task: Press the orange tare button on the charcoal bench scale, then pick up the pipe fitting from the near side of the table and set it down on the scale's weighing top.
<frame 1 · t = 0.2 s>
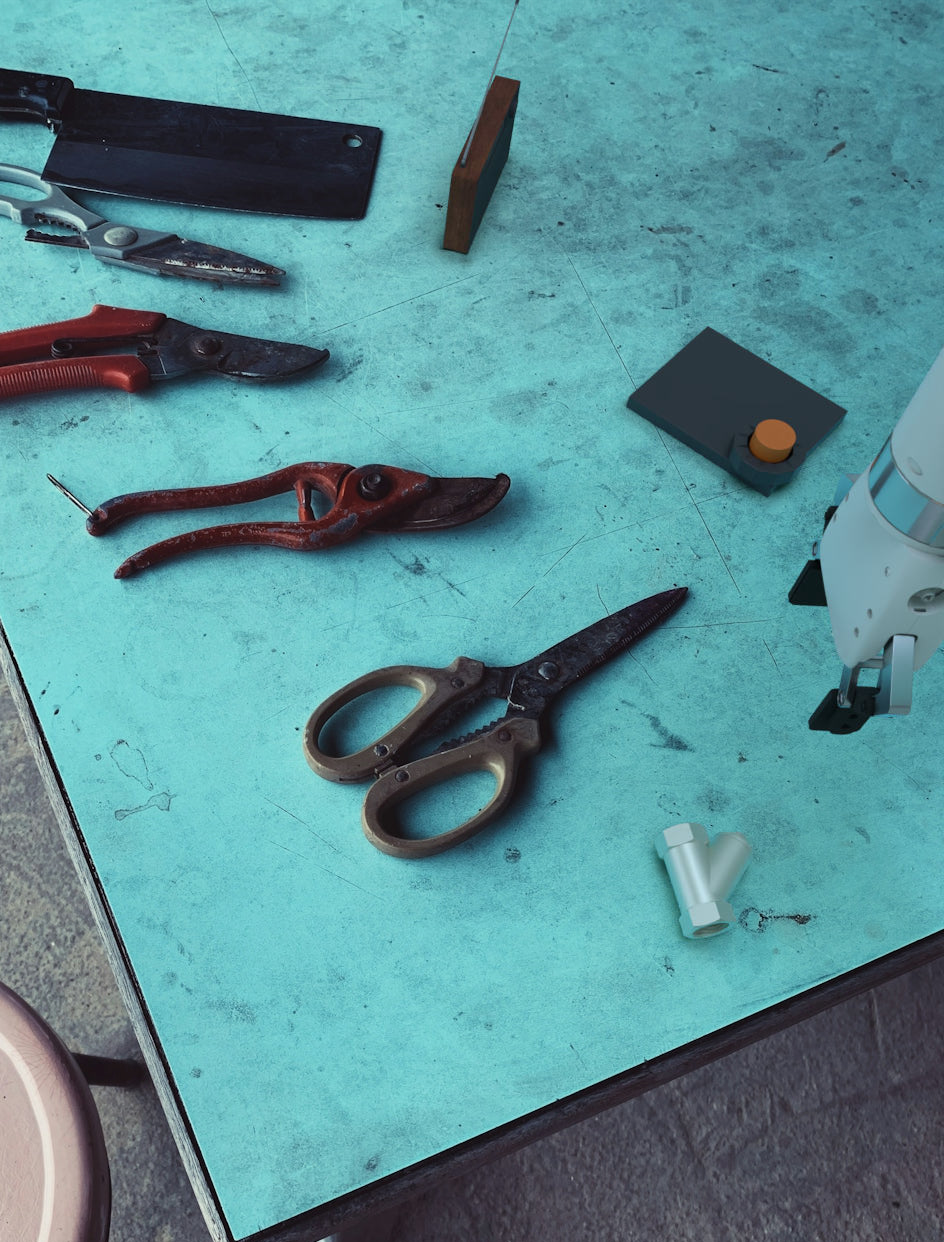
hand: (820, 662, 78), 19 cm above the table, tool pointing down, fingers open, 9 cm apart
pipe fitting: (706, 888, 91), on the table
tare button: (772, 441, 107), point 4 cm above the table, slide at 0.2 cm
scale: (733, 414, 113), on the table
radio: (480, 198, 126), on the table
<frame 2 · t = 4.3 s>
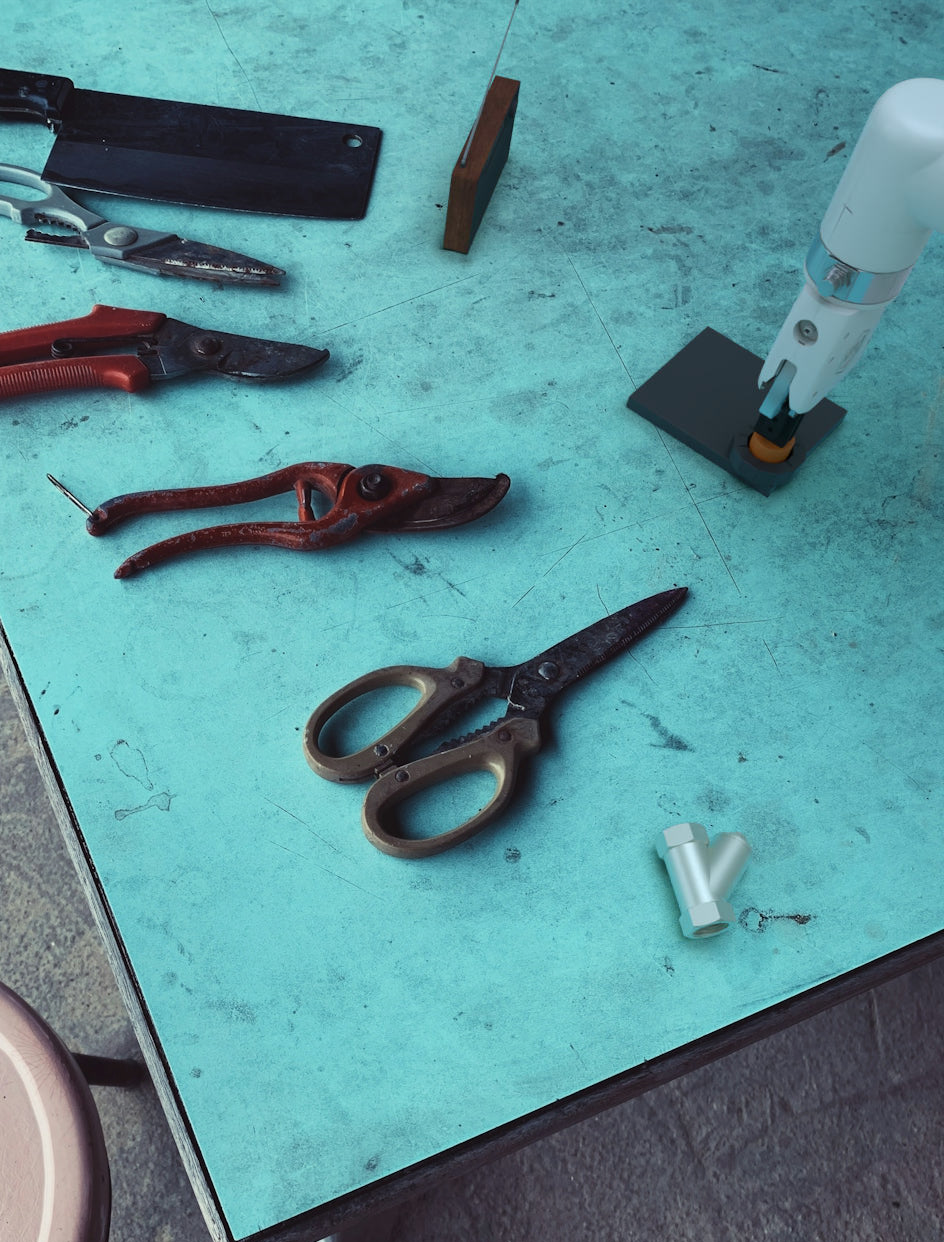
hand: (772, 434, 106), 4 cm above the table, tool pointing down, fingers closed
tare button: (771, 442, 107), point 3 cm above the table, slide at 0.0 cm, touching gripper
everything else where it was.
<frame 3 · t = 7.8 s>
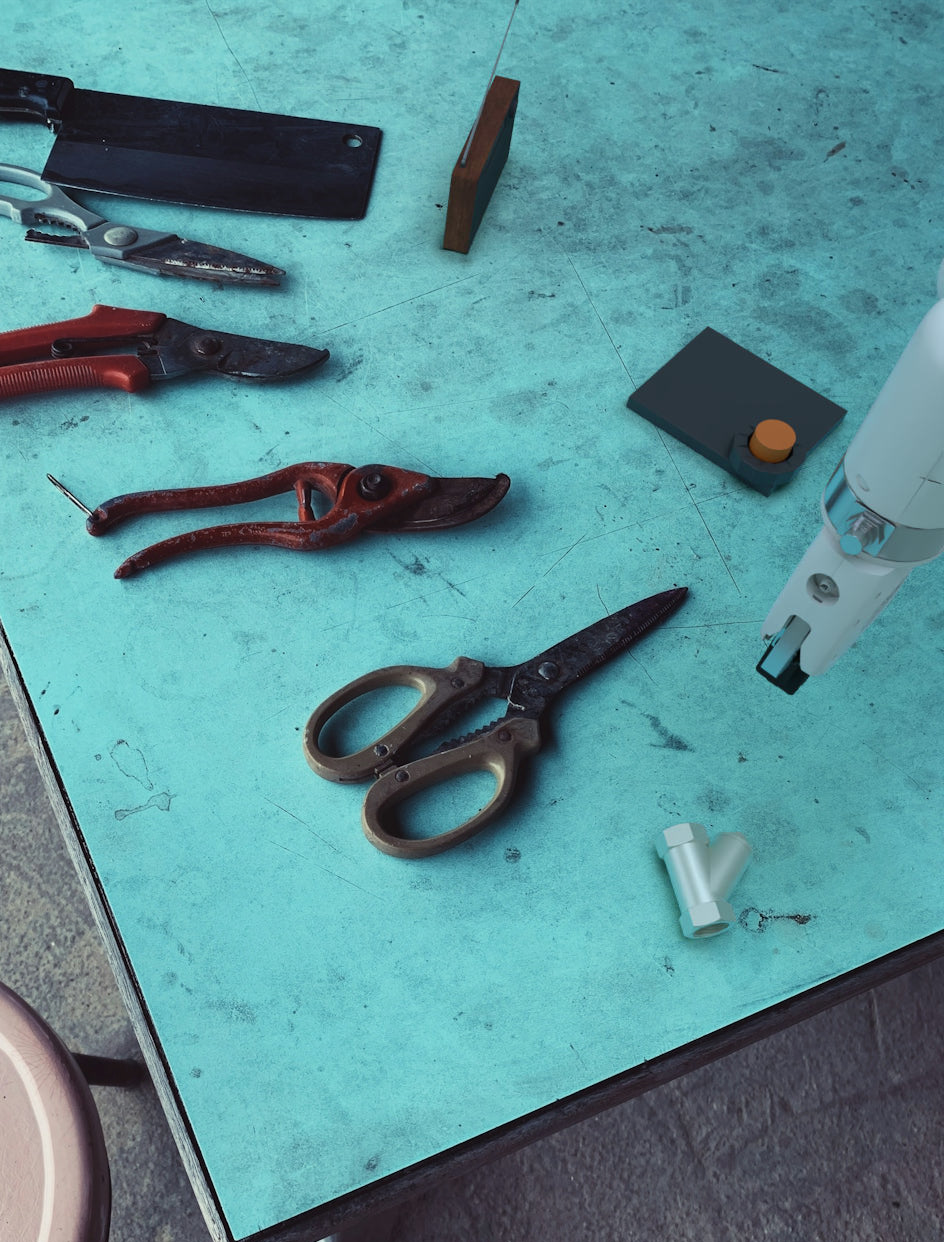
hand: (779, 676, 84), 14 cm above the table, tool pointing down, fingers closed
tare button: (772, 441, 107), point 4 cm above the table, slide at 0.1 cm
everything else where it was.
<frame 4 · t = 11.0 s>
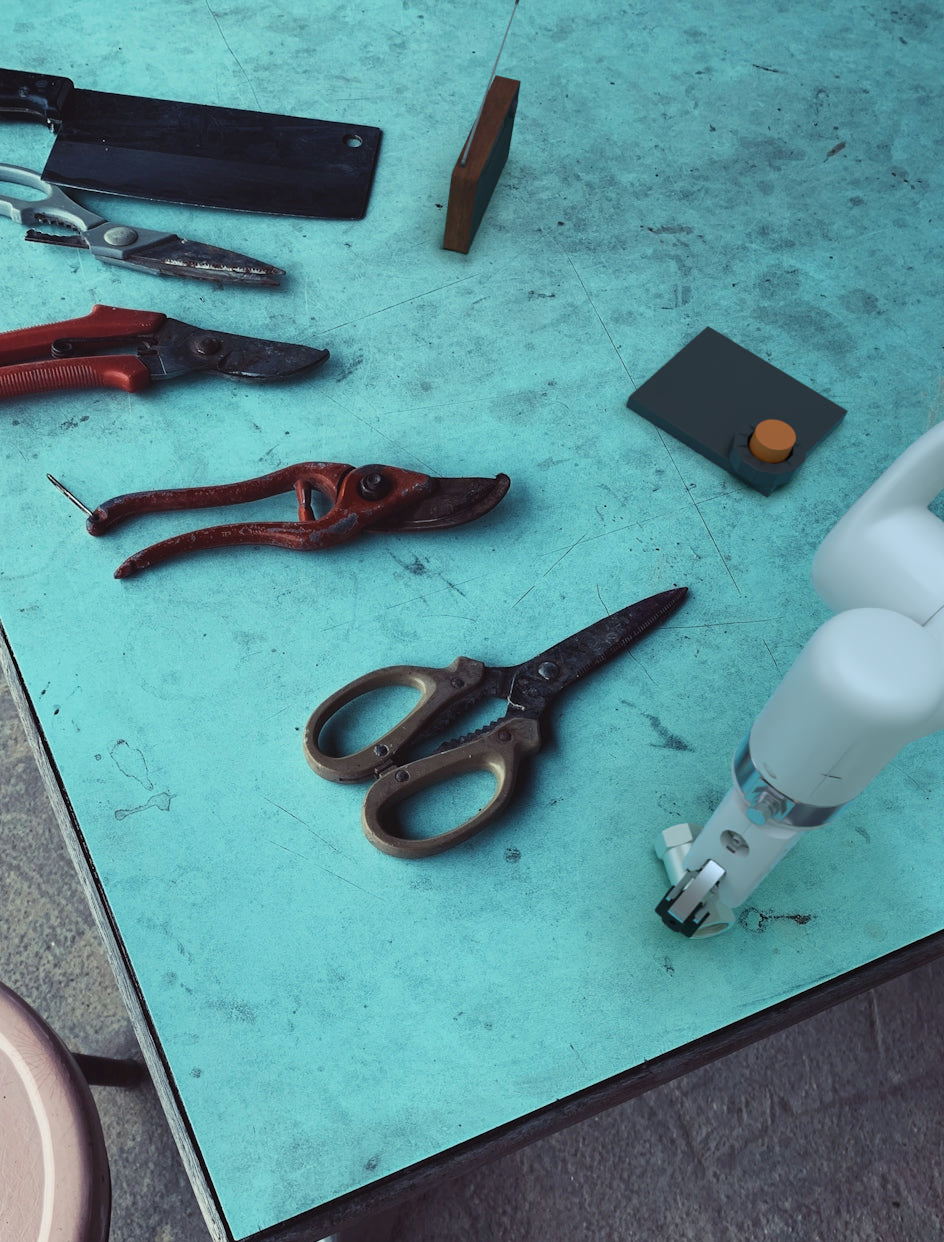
hand: (711, 878, 89), 2 cm above the table, tool pointing down, fingers closed on pipe fitting, 9 cm apart
pipe fitting: (705, 888, 91), on the table, touching gripper
everything else where it was.
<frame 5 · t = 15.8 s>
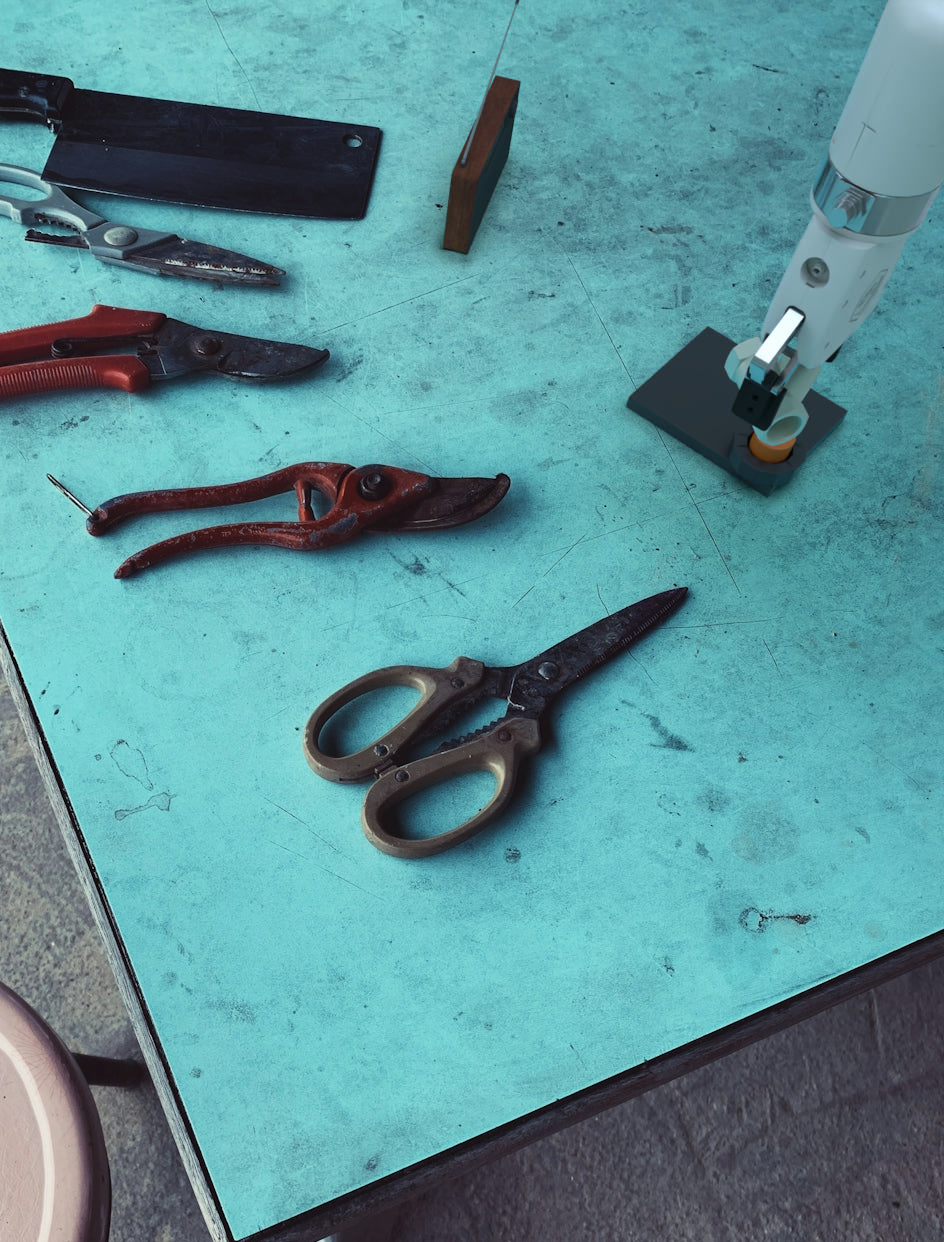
hand: (783, 385, 93), 16 cm above the table, tool pointing down, fingers closed on pipe fitting, 9 cm apart
pipe fitting: (776, 408, 96), point 13 cm above the table, touching gripper
everything else where it was.
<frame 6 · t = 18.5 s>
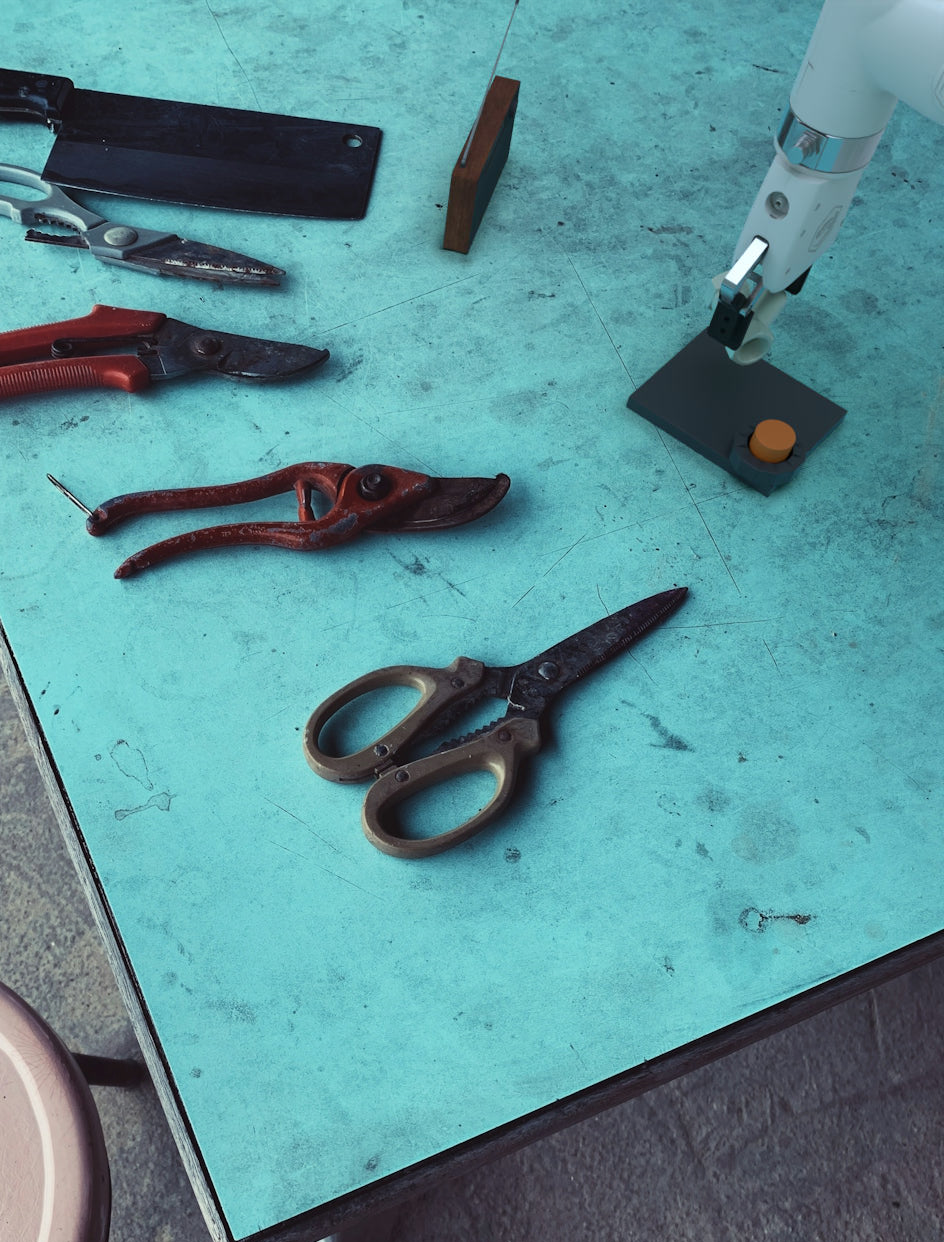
hand: (753, 313, 106), 9 cm above the table, tool pointing down, fingers closed on pipe fitting, 9 cm apart
pipe fitting: (747, 334, 109), point 7 cm above the table, touching gripper
everything else where it was.
when the fingers open (4 cm above the table, at t = 20.9 s): pipe fitting stays where it is, resting on scale.
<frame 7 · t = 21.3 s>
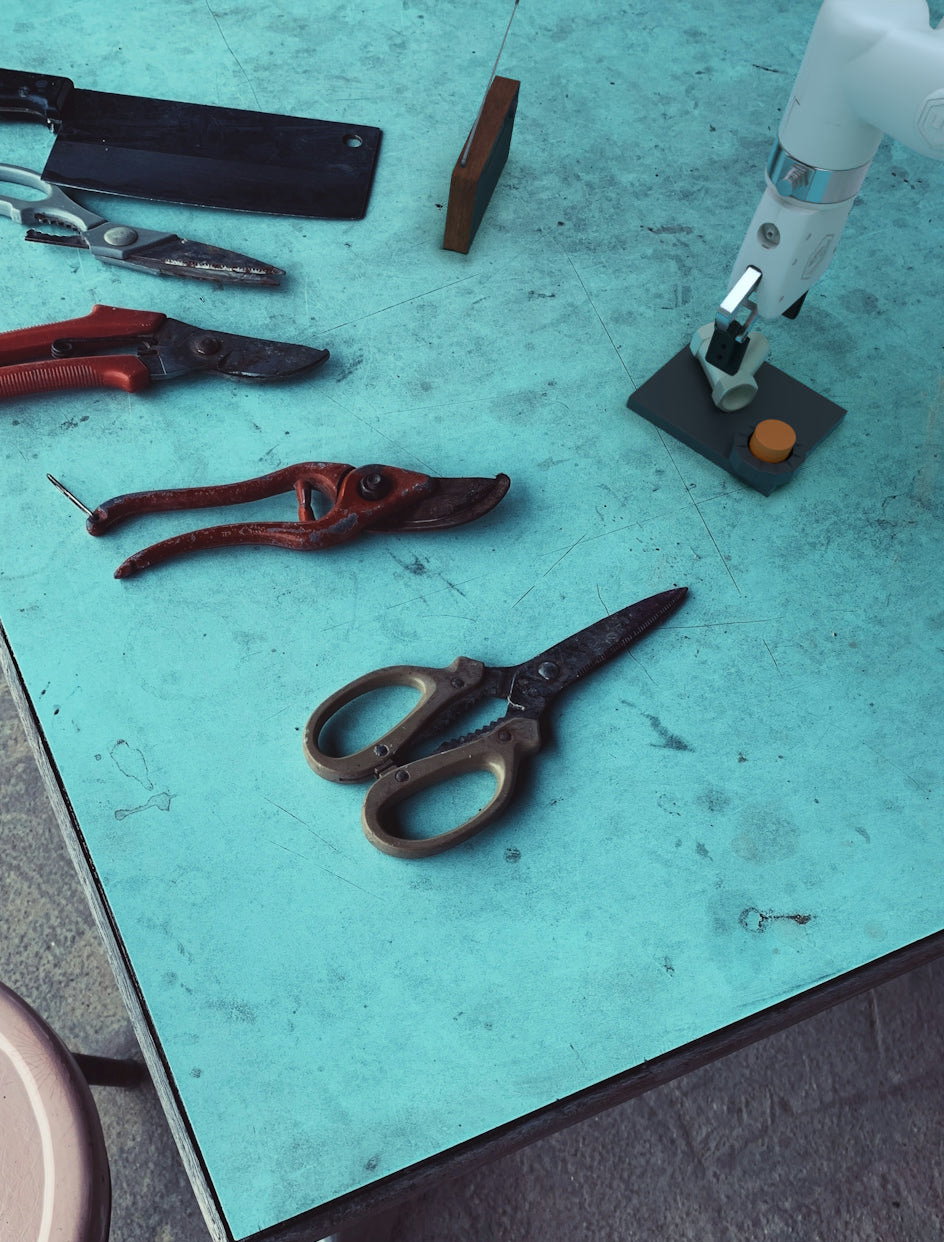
hand: (751, 338, 108), 7 cm above the table, tool pointing down, fingers open, 9 cm apart
pipe fitting: (732, 382, 113), point 1 cm above the table, touching scale
everything else where it was.
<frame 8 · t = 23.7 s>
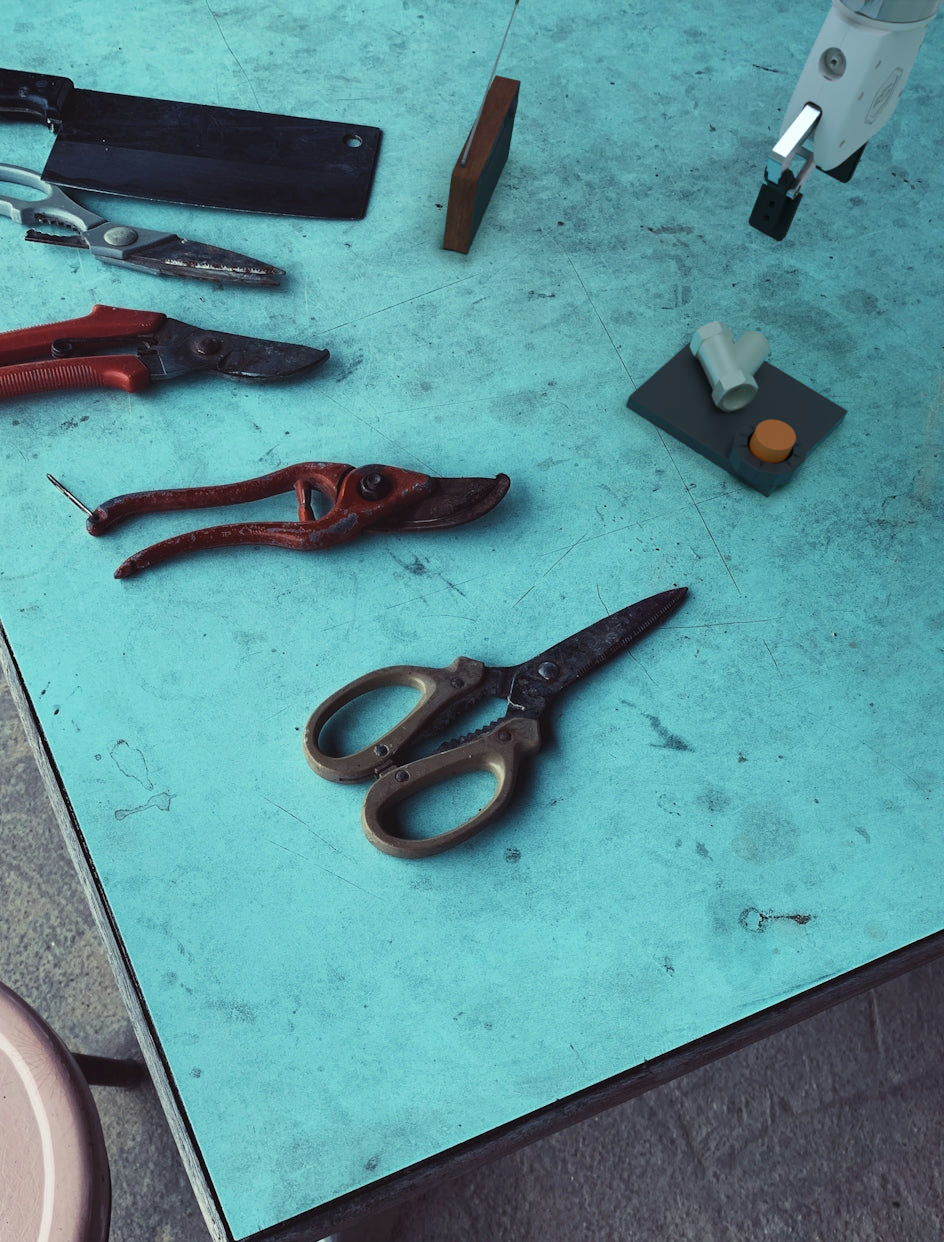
hand: (799, 202, 96), 20 cm above the table, tool pointing down, fingers open, 9 cm apart
nothing on the table moved.
at the end: tare button pushed in 0.9 cm at the most during the clip, back to where it started at the end; tare button slide at 0.1 cm; pipe fitting inside the target area on the scale (2.3 cm from its centre), point 1.2 cm above the scale's base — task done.
